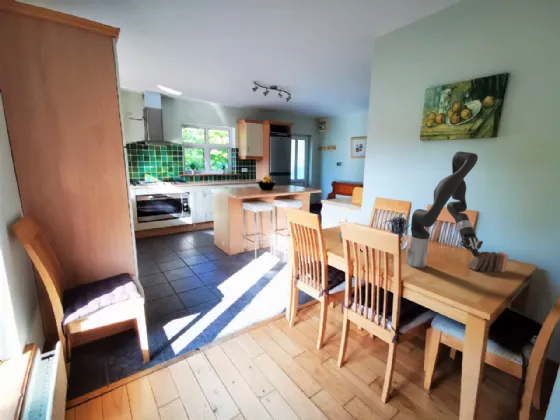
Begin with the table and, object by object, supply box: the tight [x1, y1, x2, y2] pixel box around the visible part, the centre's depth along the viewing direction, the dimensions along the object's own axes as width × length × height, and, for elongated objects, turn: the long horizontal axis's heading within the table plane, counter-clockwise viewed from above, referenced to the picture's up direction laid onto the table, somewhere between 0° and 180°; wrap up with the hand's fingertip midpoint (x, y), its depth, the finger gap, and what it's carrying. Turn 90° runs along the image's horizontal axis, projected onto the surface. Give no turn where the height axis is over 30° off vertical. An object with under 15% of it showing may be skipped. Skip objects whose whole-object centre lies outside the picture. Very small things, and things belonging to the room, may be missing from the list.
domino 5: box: [497, 251, 509, 273], centre depth 153 cm, size 2×5×10 cm, turn 179°
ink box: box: [339, 215, 348, 233], centre depth 214 cm, size 8×5×15 cm, turn 168°
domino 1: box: [467, 251, 487, 272], centre depth 153 cm, size 2×5×10 cm, turn 179°
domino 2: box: [478, 251, 491, 272], centre depth 153 cm, size 2×5×10 cm, turn 179°
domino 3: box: [484, 251, 495, 273], centre depth 153 cm, size 2×5×10 cm, turn 179°
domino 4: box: [490, 251, 501, 273], centre depth 153 cm, size 2×5×10 cm, turn 179°
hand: (476, 256), depth 151 cm, fingers closed
